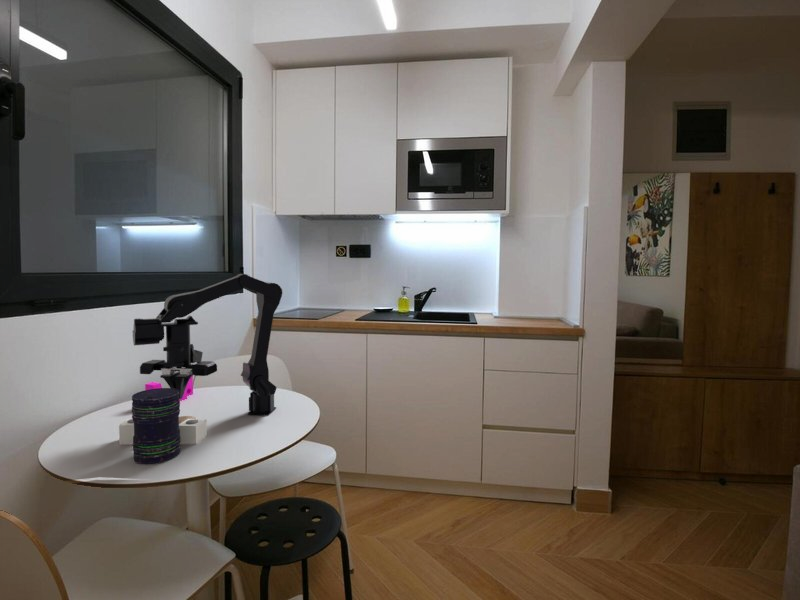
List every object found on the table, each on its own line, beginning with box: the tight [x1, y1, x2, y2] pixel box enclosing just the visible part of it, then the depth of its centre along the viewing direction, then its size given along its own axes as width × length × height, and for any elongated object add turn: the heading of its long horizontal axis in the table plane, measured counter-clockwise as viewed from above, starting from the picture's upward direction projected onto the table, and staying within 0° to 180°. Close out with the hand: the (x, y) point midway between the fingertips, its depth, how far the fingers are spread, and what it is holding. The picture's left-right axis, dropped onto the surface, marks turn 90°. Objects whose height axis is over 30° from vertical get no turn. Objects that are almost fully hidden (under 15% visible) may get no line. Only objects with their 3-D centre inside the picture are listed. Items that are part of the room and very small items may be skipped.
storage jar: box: [131, 387, 181, 466], centre depth 100 cm, size 10×10×15 cm
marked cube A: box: [179, 418, 208, 445], centre depth 109 cm, size 5×5×5 cm
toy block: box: [144, 375, 194, 402], centre depth 142 cm, size 15×6×8 cm, turn 158°
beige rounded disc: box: [179, 415, 197, 424], centre depth 116 cm, size 8×8×3 cm
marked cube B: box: [118, 418, 134, 446], centre depth 109 cm, size 5×5×5 cm
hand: (179, 398), depth 115 cm, fingers closed
